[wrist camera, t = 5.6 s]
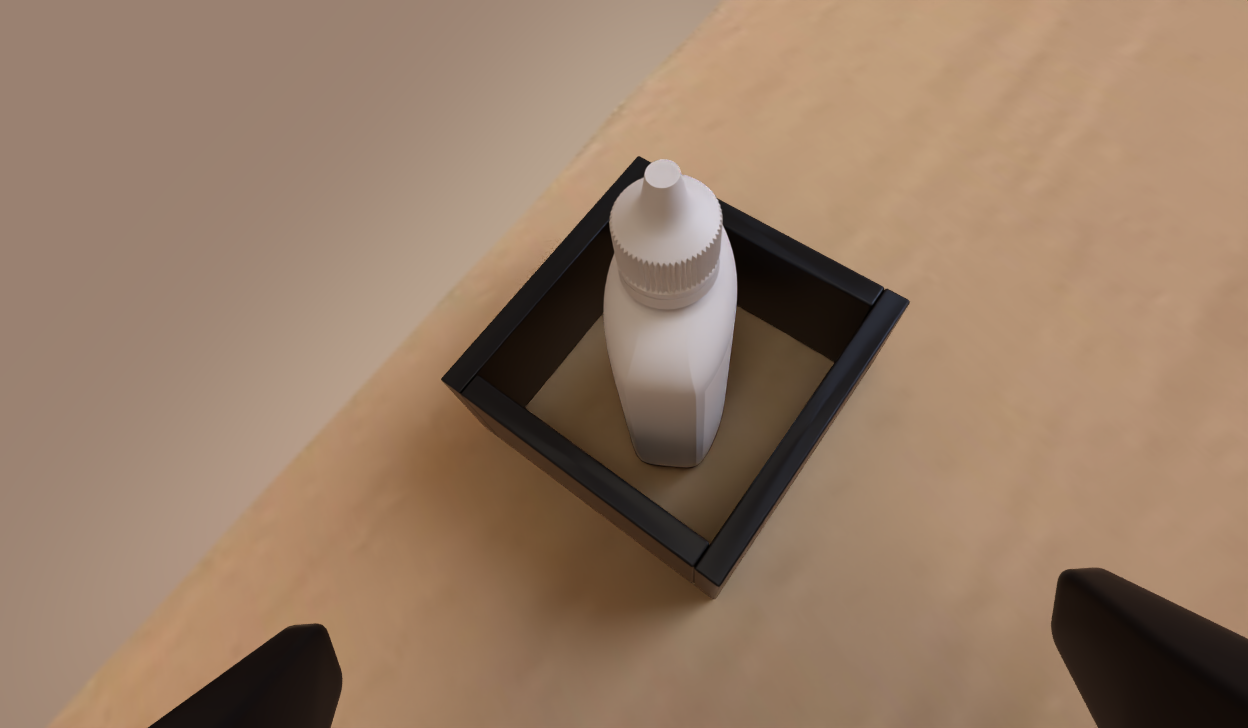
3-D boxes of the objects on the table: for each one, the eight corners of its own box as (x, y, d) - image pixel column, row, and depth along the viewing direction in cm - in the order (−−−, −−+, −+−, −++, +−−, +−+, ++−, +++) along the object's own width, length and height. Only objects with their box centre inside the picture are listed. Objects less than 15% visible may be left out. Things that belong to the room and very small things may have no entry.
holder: (873, 361, 24) (911, 300, 19) (714, 600, 21) (719, 588, 17) (646, 231, 27) (638, 154, 23) (483, 425, 24) (440, 378, 20)
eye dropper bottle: (770, 365, 24) (837, 122, 13) (683, 492, 22) (674, 339, 11) (670, 306, 25) (653, 40, 14) (581, 422, 24) (485, 225, 13)
